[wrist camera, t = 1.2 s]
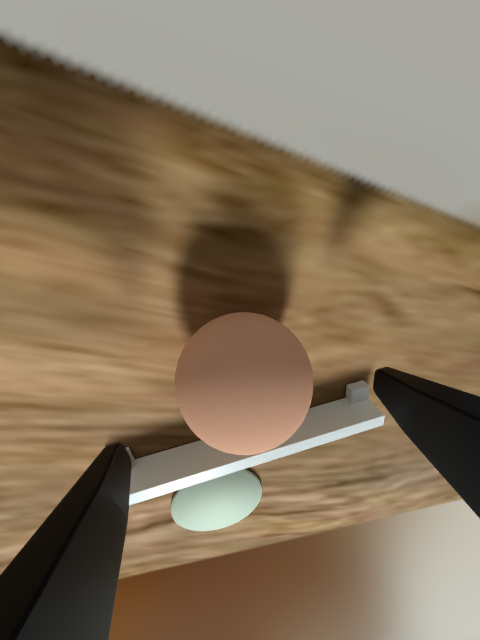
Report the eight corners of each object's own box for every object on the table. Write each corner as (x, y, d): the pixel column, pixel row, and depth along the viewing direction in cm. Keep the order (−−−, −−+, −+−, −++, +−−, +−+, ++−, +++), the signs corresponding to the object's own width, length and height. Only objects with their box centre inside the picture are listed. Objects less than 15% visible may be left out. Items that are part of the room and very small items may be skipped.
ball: (277, 284, 11) (348, 335, 6) (285, 375, 14) (341, 462, 9) (162, 308, 11) (145, 386, 6) (191, 400, 13) (195, 511, 8)
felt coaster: (255, 455, 16) (256, 460, 16) (265, 508, 19) (266, 512, 18) (159, 485, 15) (159, 490, 15) (184, 536, 18) (184, 541, 18)
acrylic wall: (363, 379, 15) (386, 401, 14) (360, 413, 17) (381, 437, 15) (106, 453, 13) (94, 490, 11) (125, 485, 14) (116, 523, 13)
